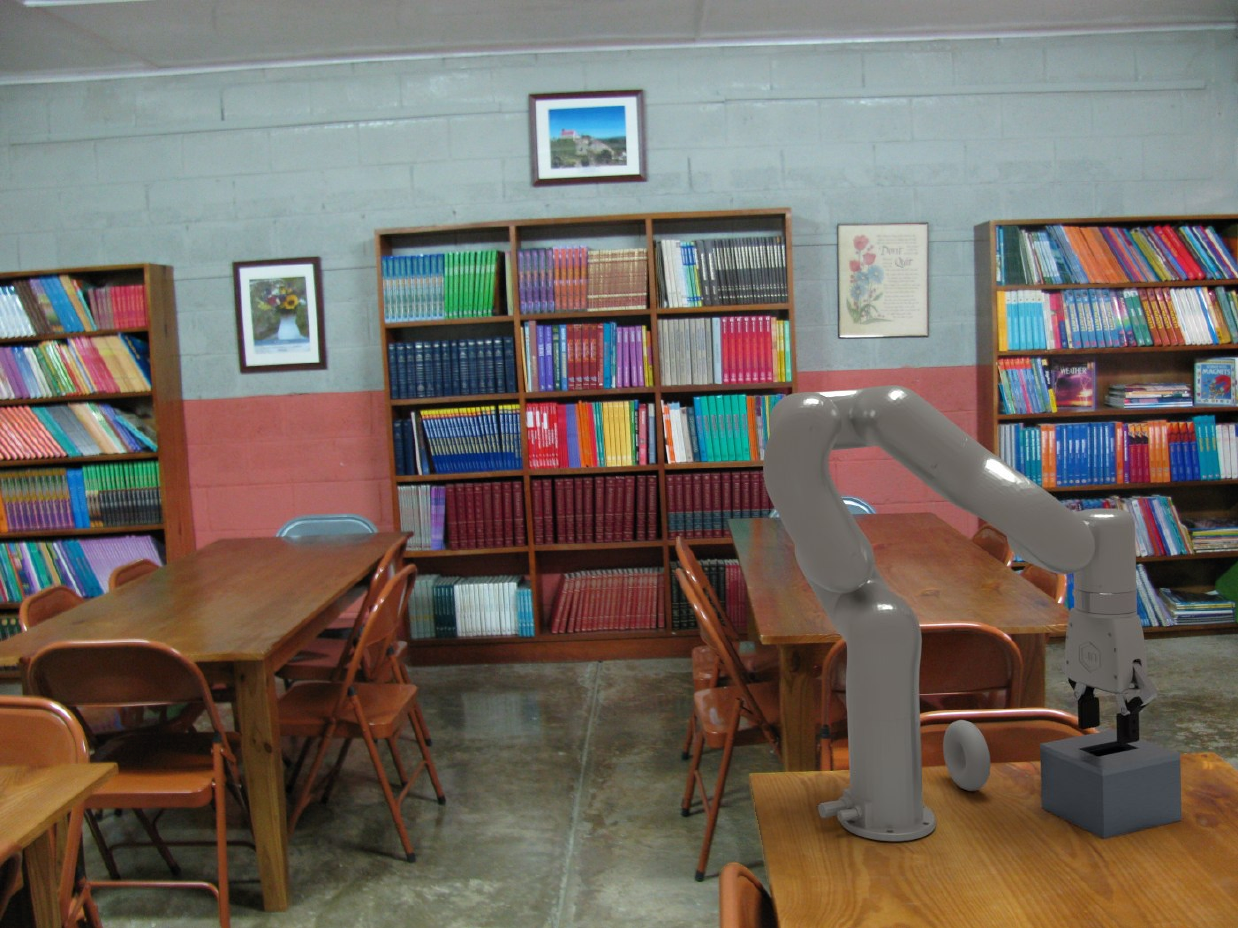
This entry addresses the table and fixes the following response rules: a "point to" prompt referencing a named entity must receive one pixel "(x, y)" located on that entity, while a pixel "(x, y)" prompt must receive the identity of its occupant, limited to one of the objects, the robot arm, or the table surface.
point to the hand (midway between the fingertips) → (1108, 733)
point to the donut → (966, 755)
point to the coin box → (1110, 783)
